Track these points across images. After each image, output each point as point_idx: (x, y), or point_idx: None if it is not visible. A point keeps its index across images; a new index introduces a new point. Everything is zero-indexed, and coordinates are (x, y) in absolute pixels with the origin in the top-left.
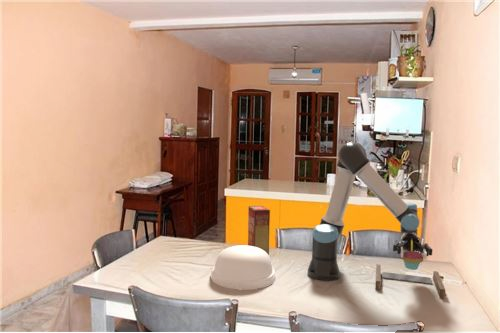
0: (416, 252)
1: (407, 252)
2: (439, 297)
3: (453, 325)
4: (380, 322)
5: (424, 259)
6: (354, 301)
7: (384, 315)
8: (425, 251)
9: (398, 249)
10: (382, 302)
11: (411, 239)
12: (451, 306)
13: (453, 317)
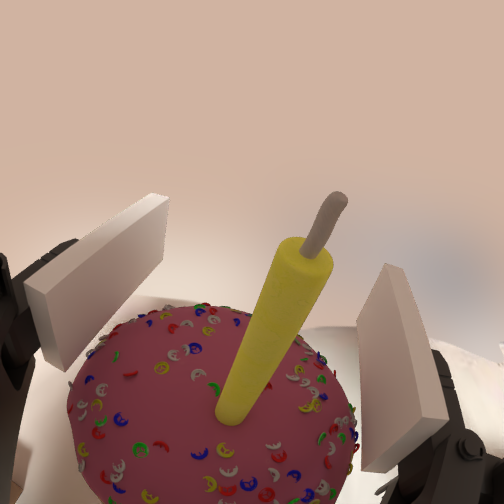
0: (173, 349)
1: (313, 378)
2: (20, 492)
3: (136, 306)
4: (342, 334)
5: (161, 257)
6: None
7: (331, 367)
8: (117, 221)
9: (441, 357)
10: None
11: (333, 224)
12: (32, 410)
13: (96, 342)
